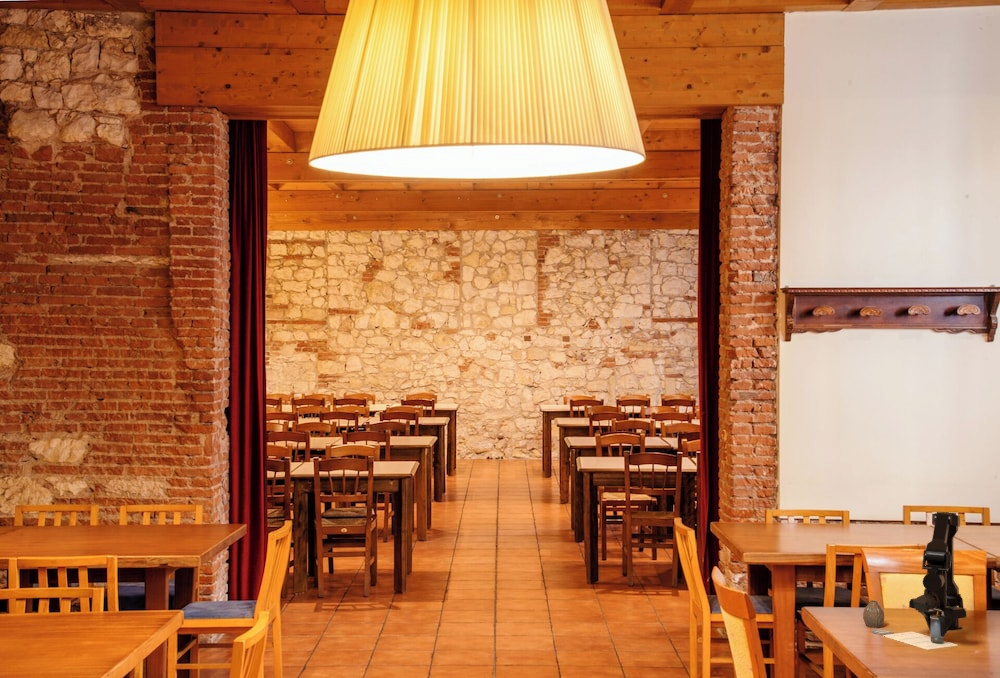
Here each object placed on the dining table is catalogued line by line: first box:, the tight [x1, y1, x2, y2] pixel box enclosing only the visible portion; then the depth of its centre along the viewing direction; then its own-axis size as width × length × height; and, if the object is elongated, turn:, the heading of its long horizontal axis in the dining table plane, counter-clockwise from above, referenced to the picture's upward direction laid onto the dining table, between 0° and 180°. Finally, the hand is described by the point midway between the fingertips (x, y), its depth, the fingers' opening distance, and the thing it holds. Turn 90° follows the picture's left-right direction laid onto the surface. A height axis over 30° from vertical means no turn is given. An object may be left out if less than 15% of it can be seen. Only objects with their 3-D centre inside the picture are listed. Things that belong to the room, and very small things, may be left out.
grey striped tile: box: [869, 628, 895, 636], centre depth 350 cm, size 6×5×1 cm
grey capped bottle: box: [930, 615, 945, 643], centre depth 337 cm, size 4×4×8 cm
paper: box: [882, 631, 959, 651], centre depth 340 cm, size 13×19×1 cm
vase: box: [862, 600, 885, 629], centre depth 360 cm, size 7×7×9 cm
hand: (937, 635), depth 337 cm, fingers closed on grey capped bottle, 4 cm apart
